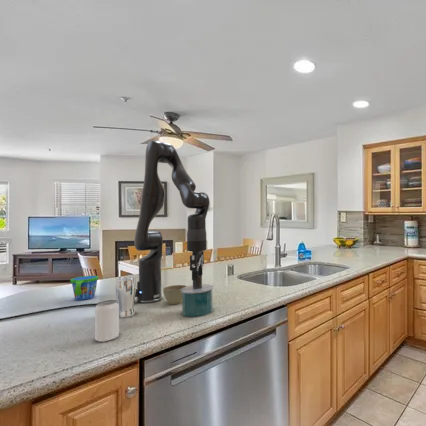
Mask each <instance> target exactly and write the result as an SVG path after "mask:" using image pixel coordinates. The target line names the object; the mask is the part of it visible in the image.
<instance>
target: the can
mask: <svg viewBox="0 0 426 426" xmlns="http://www.w3.org/2000/svg"><path fill="white" fill-rule="evenodd" d="M119 335H120V318H119V305H118V303H117V299H107V300H102V301H99V302H97V305H95V309H94V337H95V341H96V342H98V343H104V342H105V343H106V342H110V341H113V340H115V339H117V338H118V337H119Z"/></svg>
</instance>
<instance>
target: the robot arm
mask: <svg viewBox="0 0 426 426" xmlns="http://www.w3.org/2000/svg"><path fill="white" fill-rule="evenodd" d="M144 160H145V161H144V178H143V186H142V191H141V199H140V208H139V215H138V221H137V225H136V229H135V233H134V240H133V241H134V242H133V243H134V249H135V250H136V251H139V252H144V251H145V252H146V251H149V252H148V253H147V254H146V255H144V256H143V257H141V258H139V259H138V281H137V282H136V294H135V298H137V299H136V301H137V303H142V304H149V303H156V302H158V301H160V300H162V298H163V297H162V258H163V245H164V244H163V242H164V241H163V240H164V238H163V234H162V232H161V231H160V230H157V229H154V230H149V228H150V225H151V223H152V221H153V220H154V219H155V217H156V216H157V215H158V214H159V213H160V211H162V209H163V207H164V205H165V197H166V189H165V187H164V185H163V183H162V180H161V178H160V176H159V172H158V169H159V167H158V165H159V163H161V164H167V165H168V166H170V167H171V169H172V170H171V175H170V177H171V181H172V183H173V184H174V186H175V187H176V189H177V190H178V193H179V196H180V199H181V203H182V205H183V206H184V207H186V208H187V209H190V210H191V209H195V212H194V213H192V214H189V215H188V216H187V232H186V249H187V252H191V253H192V254H191V255H189V271H191V281H192V282H193V281H194V280H198V275H202V276H203V267H204V264H205V260H204V259H205V257H204V256H205V255H204V253H205V252H204V251H207V249H208V248H207V245H208V244H207V242H208V241H207V228H206V227H207V223H206V219H207V216H208V212H209V207H210V196H209V195H208V194H207V193H206V192H204V191H196V189H197V187H196V184H195V182H194V179H192V177H191V176H190V174H189V173H188V171H186V169H185V167H184V164H183V162H182V160H181V158H180V156H179V154H178V151H177V149H176V148H175V147H174V145H173V144H171V143H168V142H162V141H158V140H150V141H149V142H148V143H147V145H146V148H145V157H144ZM97 303H98V302H97ZM97 303H85V304H74V305H68V306H61V307H54V308H49V309H43V310H38V311H33V312H28V313H22V314H17V315H12V316H7V317H6V316H5V317H1V318H0V322H2V321H6V320H11V319H16V318H21V317H22V318H23V317H27V316H32V315H33V316H34V315H36V314H37V315H38V314H43V313H48V312H54V311H59V310H65V309H74V308H81V307H93V306H94V307H96V306H97ZM117 303H118V302H117Z"/></svg>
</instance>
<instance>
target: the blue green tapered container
mask: <svg viewBox="0 0 426 426" xmlns="http://www.w3.org/2000/svg"><path fill="white" fill-rule="evenodd" d="M99 277H100V276H98V275H82V276H77V277H73V278H71V279H70V281H69V282H70V283H71V285H72V287H71V288H72V291H73V292H72V293H73V296H74V300H76V301H84V300H89V299H93V298H95V295H96V291H97V285H98V281H99Z"/></svg>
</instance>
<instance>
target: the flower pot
mask: <svg viewBox="0 0 426 426" xmlns="http://www.w3.org/2000/svg"><path fill="white" fill-rule="evenodd" d="M186 286H187V285H185V284H175V285H174V284H173V285H168V286H165V287H162V292H163V296H164V298H165V300H166V302H167V303H168V305H179V304H181V303H182V292H181V289H182V288H184V287H186Z"/></svg>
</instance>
